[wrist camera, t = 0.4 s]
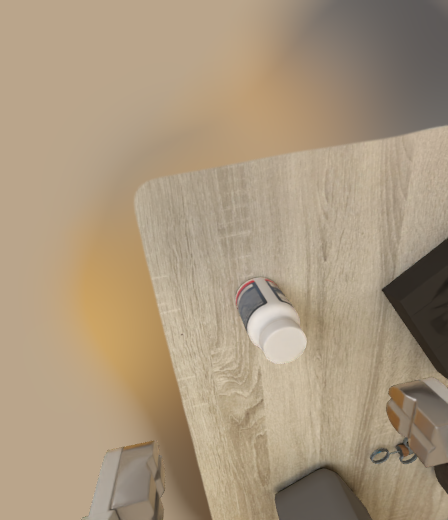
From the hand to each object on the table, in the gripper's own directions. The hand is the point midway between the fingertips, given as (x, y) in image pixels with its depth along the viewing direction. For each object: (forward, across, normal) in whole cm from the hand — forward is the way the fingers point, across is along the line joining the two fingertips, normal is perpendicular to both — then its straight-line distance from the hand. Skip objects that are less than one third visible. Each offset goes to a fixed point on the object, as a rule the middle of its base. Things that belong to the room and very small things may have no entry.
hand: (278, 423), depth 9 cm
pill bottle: (+21, -4, +7) cm, 22 cm away
